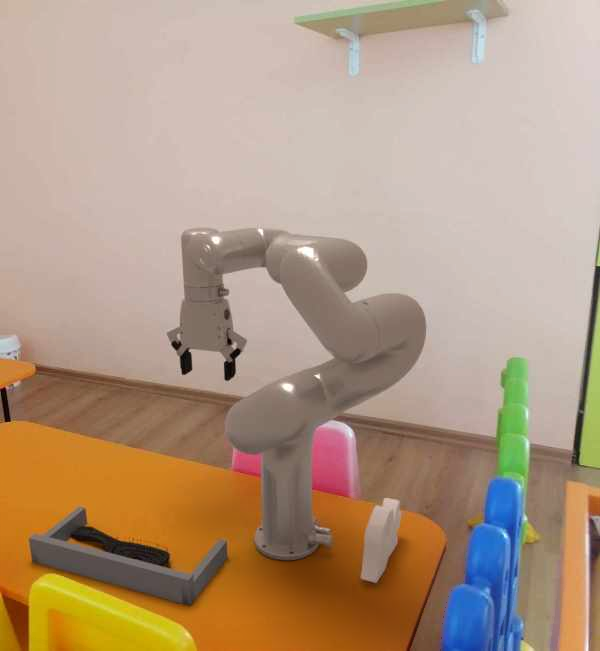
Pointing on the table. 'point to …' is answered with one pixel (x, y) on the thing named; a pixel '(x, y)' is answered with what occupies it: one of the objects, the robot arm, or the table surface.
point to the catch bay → (122, 563)
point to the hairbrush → (124, 546)
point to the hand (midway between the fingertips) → (208, 375)
